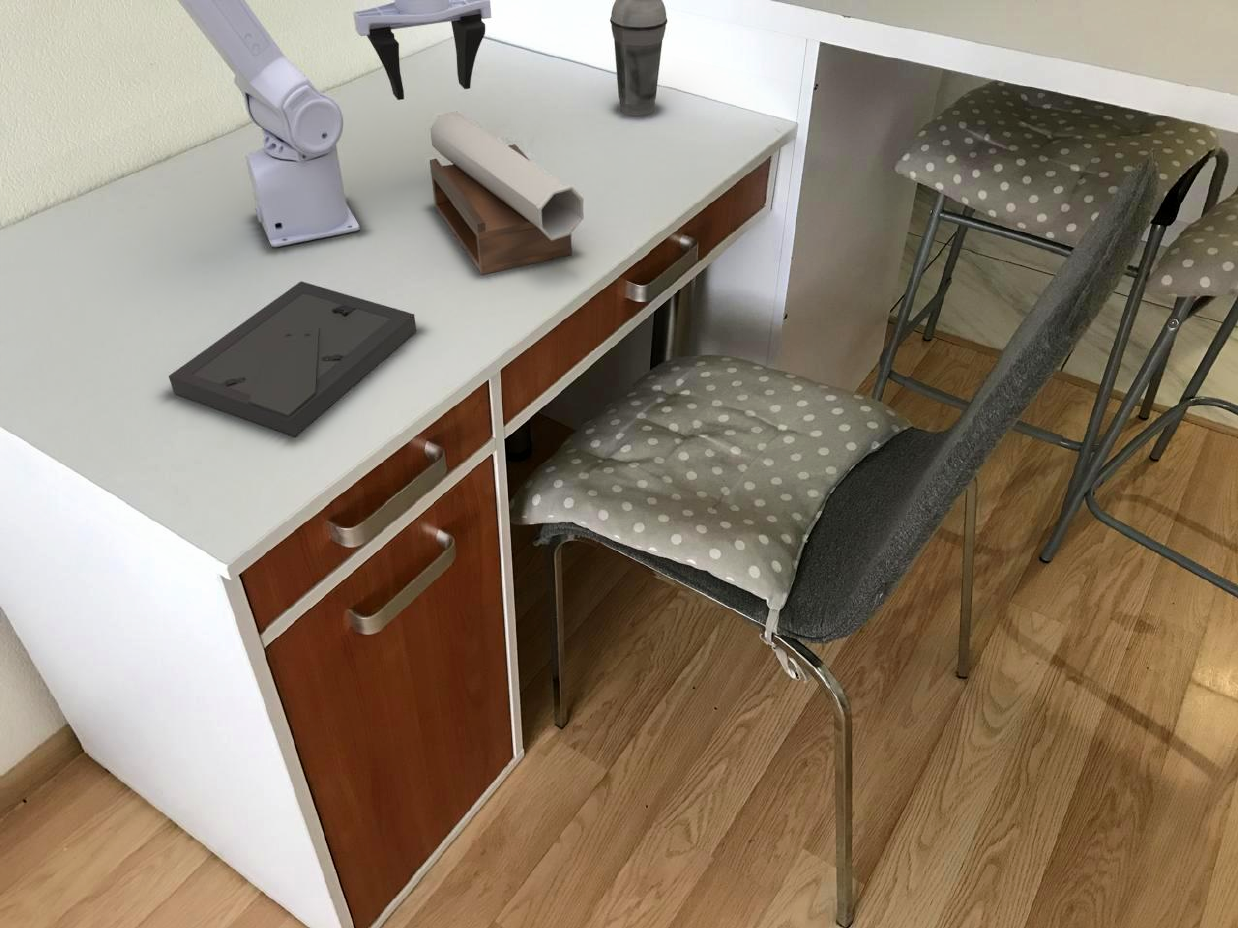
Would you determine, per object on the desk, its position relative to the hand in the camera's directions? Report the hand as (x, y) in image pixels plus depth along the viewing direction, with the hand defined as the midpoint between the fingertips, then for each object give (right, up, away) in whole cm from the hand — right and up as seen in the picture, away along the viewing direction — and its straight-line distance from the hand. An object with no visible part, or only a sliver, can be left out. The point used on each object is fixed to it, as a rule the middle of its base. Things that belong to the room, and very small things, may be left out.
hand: (432, 91), depth 118 cm
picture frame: (-8, -32, -22) cm, 40 cm away
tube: (+8, -13, -6) cm, 16 cm away
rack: (+8, -16, -3) cm, 18 cm away
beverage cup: (+23, +5, +23) cm, 33 cm away
